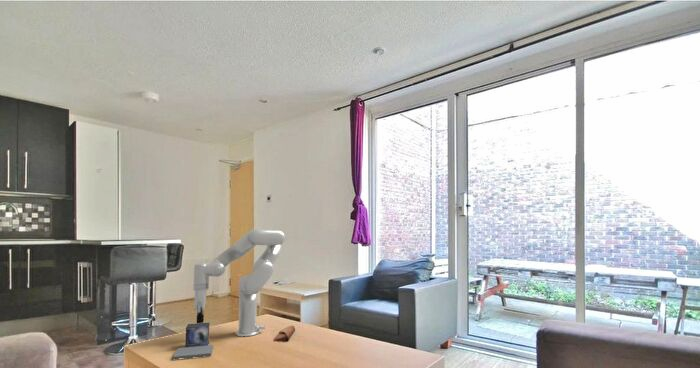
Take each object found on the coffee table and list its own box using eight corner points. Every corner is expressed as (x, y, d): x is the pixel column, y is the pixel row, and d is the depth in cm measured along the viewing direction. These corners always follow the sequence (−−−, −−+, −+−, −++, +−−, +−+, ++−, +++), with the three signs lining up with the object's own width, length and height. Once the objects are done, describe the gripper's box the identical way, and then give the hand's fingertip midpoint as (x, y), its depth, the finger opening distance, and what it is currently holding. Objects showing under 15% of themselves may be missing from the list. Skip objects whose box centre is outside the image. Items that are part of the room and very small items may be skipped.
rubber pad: (213, 348, 182) (213, 344, 182) (210, 356, 171) (211, 353, 171) (177, 351, 178) (178, 348, 178) (172, 360, 167) (173, 356, 167)
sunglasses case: (280, 331, 209) (286, 320, 209) (290, 337, 208) (296, 327, 209) (272, 341, 191) (278, 330, 191) (283, 349, 190) (290, 337, 191)
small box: (184, 349, 180) (185, 327, 181) (186, 345, 187) (187, 323, 188) (207, 347, 183) (208, 325, 184) (209, 343, 190) (209, 322, 191)
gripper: (195, 284, 203) (194, 319, 201) (191, 289, 189) (190, 327, 187) (210, 284, 205) (209, 318, 203) (207, 288, 190) (205, 325, 189)
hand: (200, 322), depth 195 cm, fingers closed
